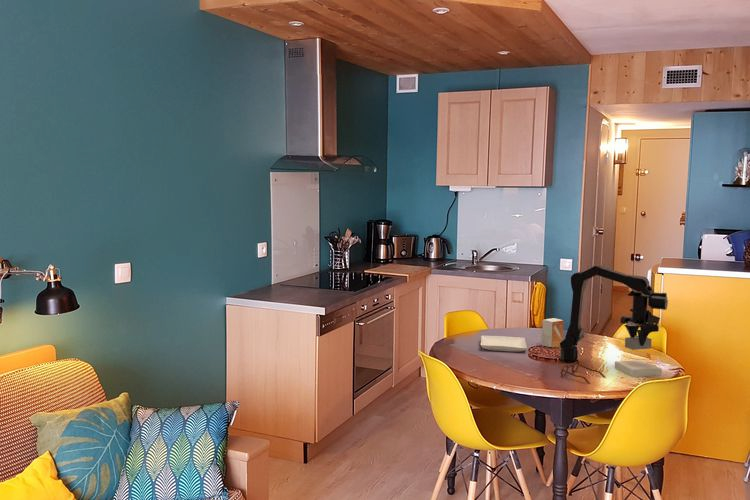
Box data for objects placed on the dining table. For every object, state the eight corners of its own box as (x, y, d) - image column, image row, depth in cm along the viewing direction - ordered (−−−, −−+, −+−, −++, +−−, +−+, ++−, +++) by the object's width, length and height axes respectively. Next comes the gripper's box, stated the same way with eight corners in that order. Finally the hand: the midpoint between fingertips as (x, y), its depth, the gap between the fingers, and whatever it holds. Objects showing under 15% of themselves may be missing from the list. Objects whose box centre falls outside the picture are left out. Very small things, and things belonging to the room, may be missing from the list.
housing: (651, 348, 270) (651, 337, 270) (632, 349, 268) (633, 338, 267) (642, 345, 275) (643, 334, 275) (624, 347, 273) (625, 335, 272)
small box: (551, 348, 309) (552, 321, 308) (541, 346, 314) (542, 319, 313) (562, 346, 313) (564, 320, 312) (552, 343, 319) (553, 317, 317)
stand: (632, 376, 265) (633, 369, 264) (614, 367, 277) (614, 361, 277) (661, 375, 267) (661, 368, 267) (641, 366, 280) (642, 359, 280)
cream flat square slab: (524, 343, 320) (524, 336, 320) (526, 354, 300) (527, 347, 299) (480, 341, 324) (481, 334, 324) (480, 352, 303) (480, 344, 303)
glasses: (576, 371, 273) (577, 360, 272) (605, 378, 264) (606, 366, 263) (559, 377, 264) (560, 365, 264) (589, 385, 255) (590, 372, 254)
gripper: (671, 310, 262) (669, 348, 264) (643, 302, 280) (642, 338, 282) (646, 311, 260) (644, 350, 262) (620, 303, 278) (618, 339, 280)
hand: (638, 344), depth 271 cm, fingers closed on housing, 5 cm apart
